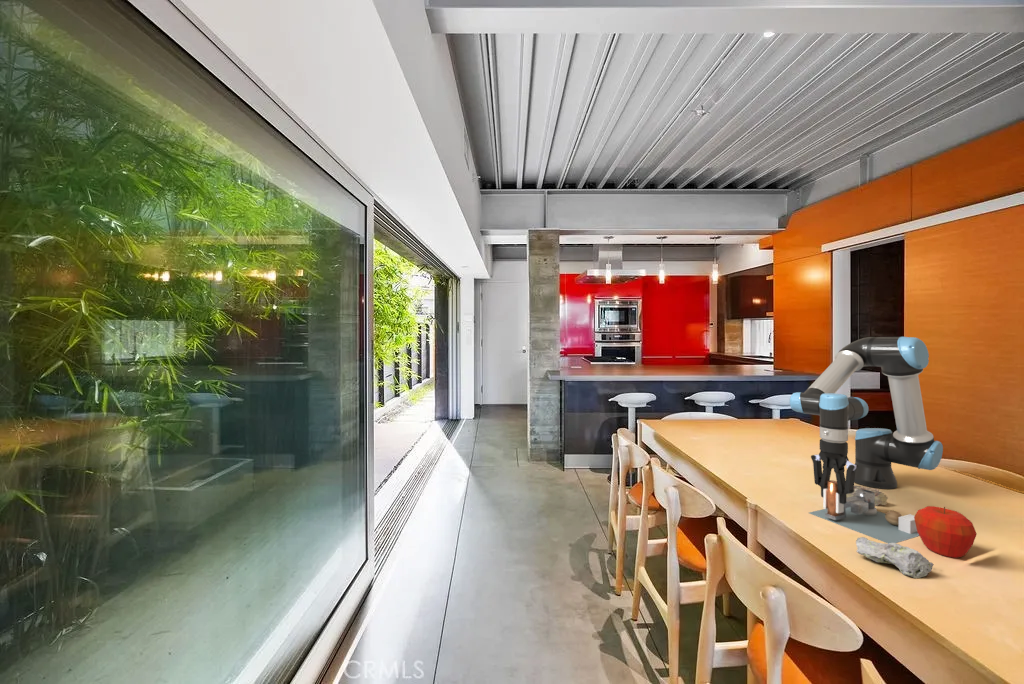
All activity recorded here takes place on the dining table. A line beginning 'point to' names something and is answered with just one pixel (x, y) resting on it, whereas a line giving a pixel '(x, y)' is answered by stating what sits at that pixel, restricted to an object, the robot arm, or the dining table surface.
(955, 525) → the apple
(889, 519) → the light brown ball
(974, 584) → the dining table surface
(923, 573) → the mineral specimen
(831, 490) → the lever
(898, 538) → the board
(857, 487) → the rock
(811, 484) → the dining table surface
